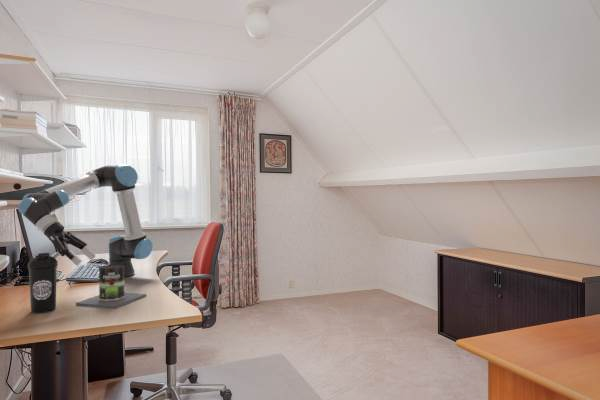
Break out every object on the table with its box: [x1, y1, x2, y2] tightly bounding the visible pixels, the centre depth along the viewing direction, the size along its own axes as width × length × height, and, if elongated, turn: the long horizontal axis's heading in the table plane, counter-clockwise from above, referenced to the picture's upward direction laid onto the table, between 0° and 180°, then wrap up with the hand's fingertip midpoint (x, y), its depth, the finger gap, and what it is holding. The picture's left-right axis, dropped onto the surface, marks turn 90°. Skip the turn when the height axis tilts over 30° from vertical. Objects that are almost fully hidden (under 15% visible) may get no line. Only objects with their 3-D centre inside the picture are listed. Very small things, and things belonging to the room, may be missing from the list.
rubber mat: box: [75, 291, 147, 309], centre depth 172 cm, size 20×20×1 cm
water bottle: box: [27, 252, 59, 314], centre depth 158 cm, size 10×10×23 cm
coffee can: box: [98, 264, 125, 301], centre depth 172 cm, size 10×10×14 cm
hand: (87, 260), depth 171 cm, fingers open, 13 cm apart
